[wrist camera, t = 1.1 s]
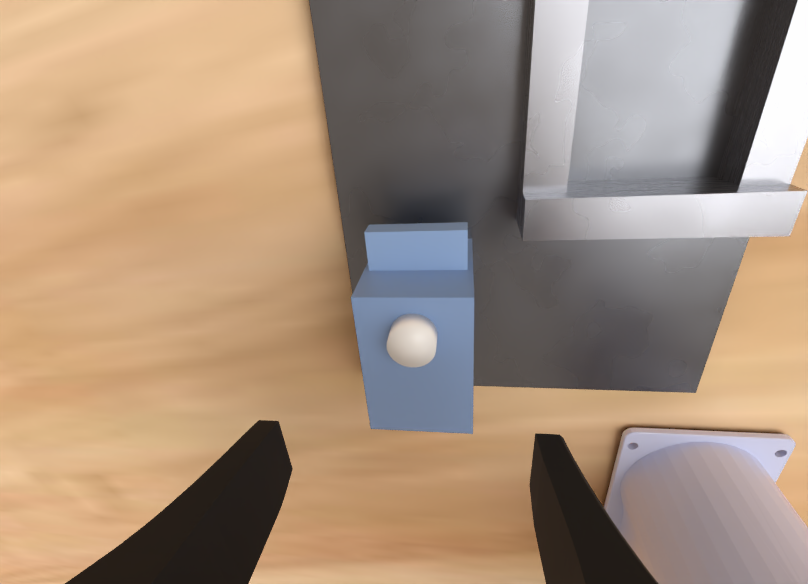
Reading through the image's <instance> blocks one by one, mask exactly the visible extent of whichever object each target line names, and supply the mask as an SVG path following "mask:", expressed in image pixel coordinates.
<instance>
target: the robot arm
mask: <svg viewBox="0 0 808 584" xmlns="http://www.w3.org/2000/svg"><path fill="white" fill-rule="evenodd" d="M630 443H631V444H630ZM795 444H796V443H795V442H794V440H793V439H792V438H791V437H790V436H789V435H786V434H771V433H748V432H725V431H703V430H680V429H657V428H635V427H633V428H628V429H626V430H625V431H624V432H623V433H622V437H621V441H620V445H619V449H618V453H617V457H616V461H615V465H614V469H613V473H612V477H611V481H610V485H609V489H608V493H607V497H606V501H605V505H604V507H603V506H602V504H601V503H600V501H599V500H598V498H597V497H596V495H595V493H594V492H593V490H592V489H591V487H590V485H589V484H588V482H587V480H586V479H585V477H584V475H583V474H582V472H581V470H580V469H579V467H578V465H577V463H576V461H575V460H574V458H573V456H572V454H571V452H570V450H569V449H568V447H567V445H566V443H565V441H564V439H563V437H561V436H560V435H555V434H535V442H534V451H533V460H532V469H531V477H530V492H531V502H532V511H533V520H534V527H535V532H536V537H537V542H538V547H539V551H540V556H541V561H542V566H543V571H544V575H545V580H546V584H808V527H807V526H806V524H805V523H804V522H803V520H802V519H801V518H800V516H799V515H798V513H797V512H796V511H795V509H794V508H793V507H792V505H791V504H790V503H789V501H788V500H787V498H786V497H785V496H784V494H783V493H782V492H781V490H780V489H779V487H778V486H777V485H776V481H777V479H778V477H779V475H780V473H781V471H782V470H783V468H784V466H785V464H786V462H787V460H788V458H789V457H790V455H791V453H792V451H793V449H794V447H795ZM291 473H292V465H291V462H290V459H289V455H288V452H287V448H286V445H285V442H284V438H283V435H282V431H281V428H280V425H279V421H263V420H259V421H258V422H257V423H256V424H254V425H253V426H252V427H251V428H250V429H249V430H248V431H247V432H246V433H245V434H244V435H243V436H242V437H241V438H240V439H239V440H238V441H237V442H236V443H235V444H234V445H233V446H232V447H231V448H230V449H229V450H228V451H227V452H226V453H225V454H224V455H223V456H222V457H221V458H220V459H219V460H217V461H216V462H215V463H214V464H213V465H212V466H211V467H210V468H209V469H208V470H207V471H206V472H205V473H204V474H203V475H202V476H201V477H200V478H198V479H197V480H196V481H195V482H194V483H193V484H192V485H191V486H190V487H189V488H188V489H187V490H185V491H184V492H183V493H182V494H181V495H180V496H179V497H177V498H176V499H175V500H174V501H173V502H172V503H171V504H170V505H168V506H167V507H166V508H165V509H164V510H163V511H162V512H160V513H159V514H158V515H157V516H156V517H154V518H153V519H152V520H151V521H150V522H148V523H147V524H146V525H145V526H143V527H142V528H141V529H140V530H138V531H137V532H136V533H134V534H133V535H132V536H131V537H129V538H128V539H127V540H125V541H124V542H123V543H122V544H120V545H119V546H118V547H116V548H115V549H114V550H112V551H111V552H109V553H108V554H107V555H105V556H104V557H102V558H101V559H99V560H98V561H97V562H95V563H94V564H92V565H91V566H89V567H88V568H87V569H85V570H84V571H82V572H81V573H80V574H78V575H77V576H75V577H74V578H72V579H71V580H70V581H68V582H67V583H65V584H248V583H249V581H250V579H251V576H252V574H253V572H254V569H255V567H256V565H257V562H258V560H259V558H260V555H261V553H262V551H263V548H264V546H265V544H266V541H267V539H268V537H269V535H270V532H271V530H272V527H273V525H274V523H275V520H276V518H277V516H278V513H279V511H280V508H281V506H282V503H283V500H284V497H285V493H286V490H287V487H288V483H289V480H290V476H291Z"/></svg>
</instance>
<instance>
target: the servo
mask: <svg viewBox="0 0 808 584" xmlns="http://www.w3.org/2000/svg"><path fill="white" fill-rule="evenodd" d="M364 234H365V242H366V250H367V258H368V263H367V265H366V267H365V269H364V271H363V273H362V275H361V278H360V280H359V282H358V284H357V286H356V288H355V290H354V292H353V294H352V296H351V302H352V308H353V315H354V321H355V328H356V335H357V341H358V348H359V354H360V361H361V368H362V374H363V381H364V387H365V394H366V401H367V407H368V414H369V420H370V427H371V429H386V430H406V431H427V432H447V433H468V434H473V370H474V276H473V249H472V239H468V222H456V223H415V224H374V225H368V227H367V229H366V230H365V232H364Z"/></svg>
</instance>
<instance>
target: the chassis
mask: <svg viewBox="0 0 808 584" xmlns="http://www.w3.org/2000/svg"><path fill="white" fill-rule="evenodd" d="M309 3H310V10H311V16H312V23H313V30H314V37H315V43H316V50H317V57H318V64H319V70H320V77H321V84H322V91H323V97H324V104H325V111H326V117H327V124H328V131H329V138H330V144H331V151H332V158H333V165H334V171H335V178H336V185H337V192H338V198H339V205H340V212H341V219H342V225H343V232H344V239H345V246H346V252H347V259H348V266H349V272H350V279H351V286H352V293H353V292H354V290H355V288H356V286H357V284H358V282H359V280H360V278H361V275H362V273H363V271H364V269H365V267H366V265H367V263H368V258H367V250H366V242H365V234H364V232H365V230H366V229H367V227H368V225H374V224H415V223H456V222H468V239H472V249H473V276H474V370H473V386H502V387H533V388H564V389H595V390H627V391H658V392H689V393H696V390H697V387H698V384H699V382H700V379H701V376H702V373H703V370H704V367H705V364H706V361H707V358H708V356H709V353H710V350H711V347H712V344H713V341H714V338H715V335H716V332H717V330H718V327H719V324H720V321H721V318H722V315H723V312H724V309H725V307H726V304H727V301H728V298H729V295H730V292H731V289H732V286H733V283H734V281H735V278H736V275H737V272H738V269H739V266H740V263H741V260H742V257H743V255H744V252H745V249H746V246H747V243H748V240H749V237H770V236H790V234H791V231H792V229H793V226H794V224H795V221H796V219H797V216H798V214H799V211H800V209H801V206H802V203H803V201H804V198H805V196H806V193H807V190H804V189H801V188H799V187H796V186H794V185H791V184H790V183H791V181H792V178H793V175H794V172H795V170H796V167H797V164H798V162H799V159H800V156H801V154H802V151H803V148H804V146H805V143H806V140H807V137H808V0H309Z"/></svg>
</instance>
